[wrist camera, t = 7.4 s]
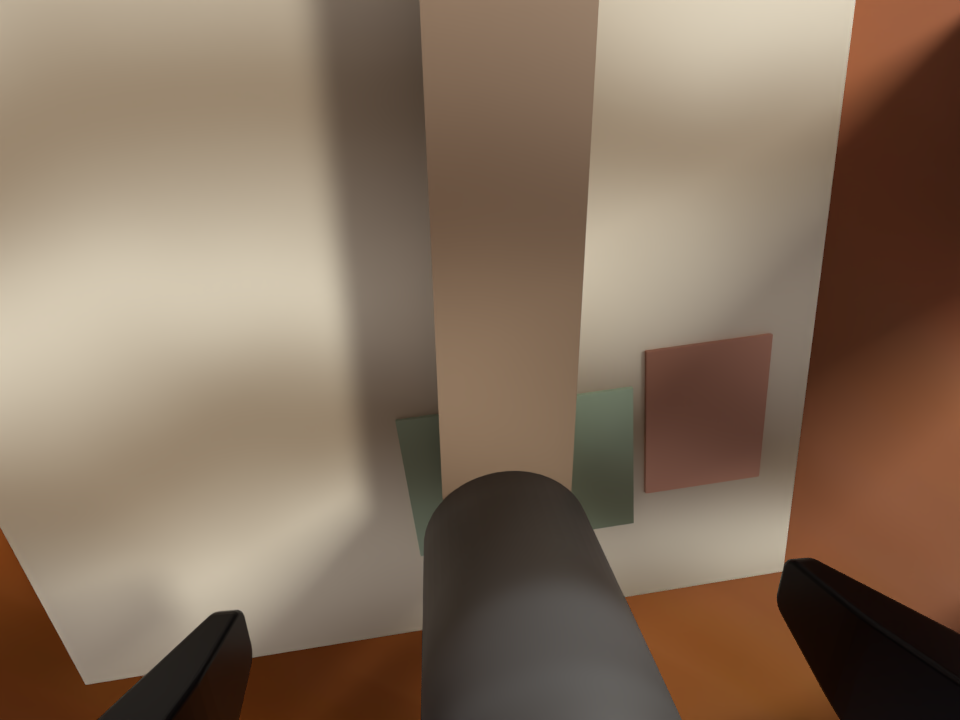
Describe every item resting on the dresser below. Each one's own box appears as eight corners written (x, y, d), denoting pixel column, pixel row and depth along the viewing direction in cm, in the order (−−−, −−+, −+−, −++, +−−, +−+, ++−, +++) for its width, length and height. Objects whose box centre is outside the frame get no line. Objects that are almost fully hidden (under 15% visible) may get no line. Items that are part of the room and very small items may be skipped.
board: (749, 534, 15) (785, 574, 13) (120, 633, 14) (83, 688, 12) (880, -852, 7) (1008, -1144, 5) (-588, -833, 6) (-935, -1177, 4)
